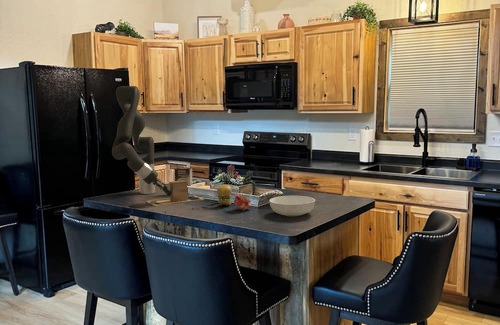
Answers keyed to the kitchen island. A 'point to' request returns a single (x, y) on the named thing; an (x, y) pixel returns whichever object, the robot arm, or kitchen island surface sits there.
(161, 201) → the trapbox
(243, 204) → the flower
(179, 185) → the block
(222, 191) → the hamburger
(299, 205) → the serving bowl
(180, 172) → the coffee box
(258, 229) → the kitchen island surface
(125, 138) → the robot arm
